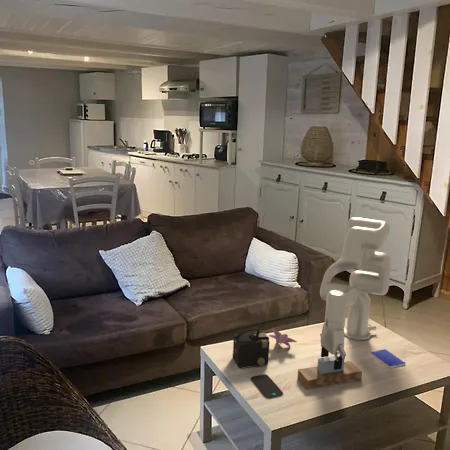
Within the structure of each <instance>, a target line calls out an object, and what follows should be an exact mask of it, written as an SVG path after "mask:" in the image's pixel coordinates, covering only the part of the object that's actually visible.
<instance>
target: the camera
mask: <svg viewBox="0 0 450 450" xmlns="http://www.w3.org/2000/svg"><path fill="white" fill-rule="evenodd" d="M251 331H252V332H251ZM232 339H233V346H232V359H233V360H234V362H235V364H236V365H237V367H238V369H242V368H251V367H258V366H265V365H268V364H269V357H270V355H269V354H270V336H269V335H267V334H266V332H265V331H260V330H259V329H258V328H257V327H255V326H251V327H247V328H244V329H243V330H241V331H240V332H239V333H234V334H233V338H232Z"/></svg>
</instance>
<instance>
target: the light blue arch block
mask: <svg viewBox="0 0 450 450" xmlns="http://www.w3.org/2000/svg"><path fill="white" fill-rule="evenodd" d="M337 356H338V357H339V356H340V354H338V355H337ZM345 359H346V358H345ZM345 359H344V360H343V361H342V369H338V370H334V361H335V360H336V359H335V355H333V356H328V357H321V358H320V357H319V358H317V366H316V367H317V371H318V372H319V373H320V374H321V375H322V374H327V373H331V372H340V371H343V370H344V362H345V361H346V360H345Z"/></svg>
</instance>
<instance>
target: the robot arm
mask: <svg viewBox="0 0 450 450" xmlns="http://www.w3.org/2000/svg"><path fill="white" fill-rule="evenodd" d="M347 229H348V230H347V233H346V235H345V239H344V243H343V247H342V252H341V255H340V258H339V259H338V260H337V261H335V262H334V263H332V264H331V265H329V267H328V268H327V269H326V271H325V272H324V274H323V278H322V282H321V284H320V288H319V296H320V298H321V299H322V300H323V301H325V303H326V305H325V312H324V313H325V316H324V322H323V324H322V328H321V329H322V330H321V332H320V334H319V335H320V346H321V349H320V350H321V352H320V357H321V358H326V357H330V356H329V355H333V356H335V359H336V360H335V361H334V370H338V369H342V361H343V360H344V359H346V357H347V353H346V350H345V337H346V338H348V339H351V340H356V341H365V340H369V339H370V338H371V331H375V330H377V326H376V325H371V324H369V319H370V311H371V298H370V296H369V294H373V295H378V296H385V295H386V294H387V293H388V291H389V289H390V278H391V277H390V276H391V267H392V259H391V256H390V254H388V253H387V252H382V251H379V250H380V249H382V247H383V245H384V244H385V242H386V240H387V239H388V237H389V236H390V235H389V234H390V231H391V230H390V225H389V223H388V222H387V221H385V220H379V219H371V218H366V217H365V218H364V217H355V216H353V217H350V218H349V219H348V221H347ZM353 269H357V270H354V271H352V272H351V273H350V275H349V285H345V284H339V283H336V282H332V280H333V278H334V277H335V276H336V275H337V274H339V273H342V272H344V271H348V270H353ZM347 308H348V311H347ZM347 313H348V314H347ZM346 315H347V321H346ZM346 323H347V324H346ZM345 325H346V327H345ZM339 355H340V356H339ZM338 356H339V357H338ZM344 361H345V360H344Z"/></svg>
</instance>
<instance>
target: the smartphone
mask: <svg viewBox="0 0 450 450" xmlns="http://www.w3.org/2000/svg"><path fill="white" fill-rule="evenodd" d="M250 381H251V382H252V384H253V385H254V386H255V387H256V388H257V390H258V391H259V392H260V394H262V396H263V397H264V398H265V399H267V400H270V399H275V398H280V397H283V396H284V392H283V390H282V389H281V388H279V386H278V385H277V384H276V383H275V382H274V381H273V380H272V378H271V377H270V376H269V375H268V374H267V373H266V374H265V373H264V374H258V375H253V376H251V377H250Z"/></svg>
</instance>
